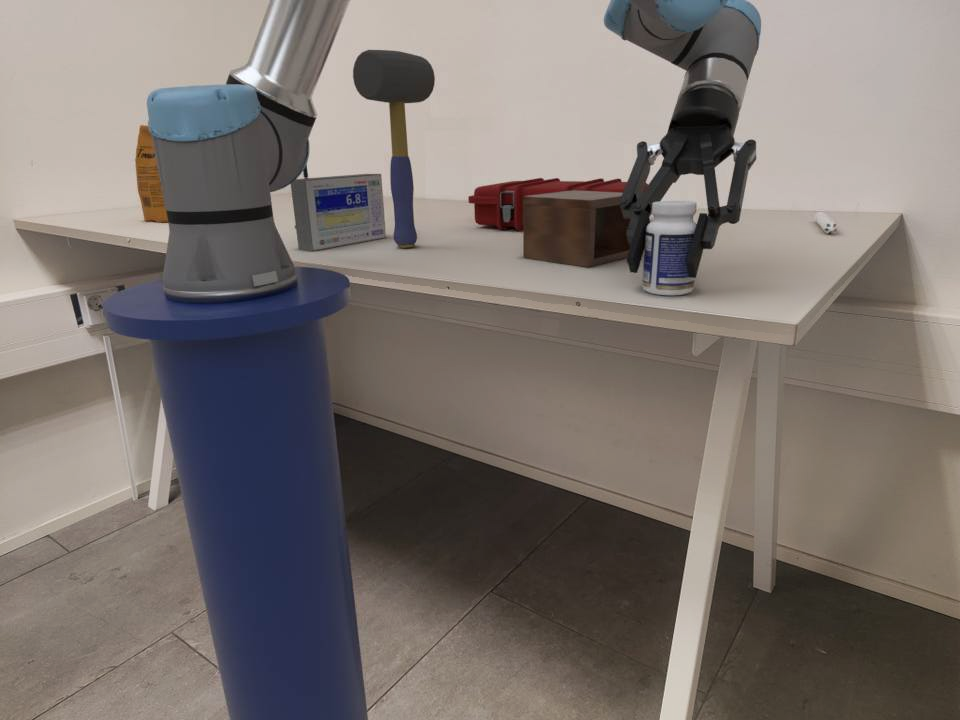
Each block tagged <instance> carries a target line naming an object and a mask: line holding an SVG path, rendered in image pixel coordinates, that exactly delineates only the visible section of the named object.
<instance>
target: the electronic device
mask: <svg viewBox="0 0 960 720" xmlns="http://www.w3.org/2000/svg"><path fill="white" fill-rule="evenodd" d="M302 174H303V178H297V179H296V180H295V181H293V182H292V183H291V184H290V191H291V199H292V208H293V215H294V229H295V231H296V240H297V247H298V250H300V251H308V252H317V251H322V250H327V249H332V248H338V247H343V246H348V245H354V244H359V243H365V242H370V241H375V240H382V239H386V238H387V233H386V220H385V207H384V206H385V205H384V192H383V191H384V190H383V179H382V173H359V174H358V173H357V174H347V175H346V174H344V175H334V176H332V175H331V176H319V177H309V172H308V163H307V164H306V167H305V169H304V170H303V172H302Z"/></svg>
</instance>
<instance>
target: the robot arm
mask: <svg viewBox="0 0 960 720" xmlns="http://www.w3.org/2000/svg"><path fill="white" fill-rule="evenodd" d="M350 2H351V0H269V3H268V4H267V8H266V11H265V13H264V16H263V18H262V21H261V24H260V27H259V29H258V33H257V35H256V37H255V41H254V44H253V47H252V49H251V52H250V55H249V57H248V61H247V62H246V63H245V65H243V66H240V67H237V68H234V69H231V70H230V71H229V74H228V77H227V79H226V83H225V84H202V85H188V86H187V85H186V86H172V87H163V88H157V89H155V90H152V91H151V92H150V93H149V94H148V95H147V98H146V108H147V116H148V120H147V126H148V129H149V131H150V133H151V137H152V142H153V147H154V152H155V157H156V163H157V168H158V173H159V178H160V183H161V188H162V193H163V198H164V203H165V208H166V213H167V218H168V222H167V224H168V228H169V229H168V239H167V247H166V254H165V260H164V266H163V272H162V279H163V289H164V294H165V297H166V298H167V299H168V300H171V301H174V302H179V303H188V304H218V303H231V302H240V301H248V300H254V299H260V298H265V297H269V296H273V295H277V294H280V293H283V292H286V291H289V290H291V289H293V288H294V287H295V286H296V285H297V276H296V271H295V267H296V266H295V265H294V262H293V260H292V257H291V256H290V254H289V252H288V249H287V248H286V245H285V243H284V241H283V239H282V237H281V235H280V232H279V231H278V228H277V226H276V223H275V218H274V212H273V203H272V195H271V193H274V192H277V191H280V190H282V189H285V188H287V187H288V186H289V185H291V183H292V182H293V181H295V180H296V179H299V177H300V176H301V175H302V174H303V170H304V169H305V167H306V164H307V165H308V161H309V158H310V149H311V148H310V147H311V146H310V140H309V138H310V135H311V133H312V130H313V127H314V125H315V123H316V120H317V118H318V112H317V109H316V107H315V104H314V102H313V95H314V93H315V90H316V88H317V85H318V82H319V80H320V78H321V75H322V72H323V70H324V67H325V65H326V62H327V60H328V57H329V55H330V52H331V50H332V47H333V44H334V42H335V40H336V37H337V35H338V33H339V30H340V27H341V24H342V22H343V20H344V18H345V15H346V13H347V10H348V7H349V5H350ZM603 16H604V17H603V24H604V26H605V28H606V29H607V30H609V31H611V32H612V33H614V34H615V35H617V36H618V37H620V38H621V40H622V41H625V42H626V41H627V42H629V43H632V44H633V45H635V46H637V47H639V48H641V49H643V50H645V51H647V52H649V53H651V54H653V55H654V56H657V57H659V58H661V59H663V60H664V61H667V62H669V63H670V64H672V65H674V66H675V67H678V68H680V69H681V70H683V71H685V73H684V76H683V81H682V84H681V87H680V90H679V92H678V95H677V99H676V102H675V103H676V104H675V106H674V108H673V112H672V114H671V118H670V121H669V125H668V128H667V132H666V134H664V136H663V137H662V138H661V139H660V141H659V142H657V143H653V144H649V145H648V143H647V141H643V140H642V141H639V142H638V143H637V144H636V154H637V155H636V158H635V161H634V164H633V166H632V169H631V171H630V174H629V176H628V179H627V181H626V182H627V184H626V186H625V189H624V191H623V194H622V196H621V199H620V201H619V204H620V208H621V211H622V215H623V218H624V219H631V220H630V223H629V226H628V229H627V232H626V234H627V239H628V242H629V244H631V245H630V248H629V251H628V254H627V258H625V259H626V262H627V265H628V269H629V272H630V273H634V274H638V272H639V268H640V265H641V262H642V259H643V256H644V248H645V233H646V227H647V225H648V224H649V223H650V222H651V218H650V217H651V216H652V215H653V214H652V204H653V203H654V202H660V201H662V200H663V199H664V197H665V195H667V193H668V191H669V189H670V188H671V186H672V185H673V184H675V183H677V181H678V180H679V178H680V177H681V176H686V175H690V174H691V175H696V176H703V180H704V187H705V189H704V190H705V197H706V206H707V213H705V212H704V213H703V212H699V214H698V218H697V222H696V224H697V225H696V229H695V232H694V236H693V240H692V243H691V247H690V250H689V254H688V258H687V261H686V265H687V271H688V277H691V278H695V279H696V278H697V274H698V272H699V268H700V265H701V264H700V263H701V261H702V256H703V252H704V250H712V249H714V247H715V244H716V240H717V237H718V233H719V229H720V226H722V225H724V224H727V223H728V224H731V225H735V224H738V223H739V222H740V219H741V215H742V209H743V208H742V207H743V203H744V198H745V190H746V186H747V182H748V181H747V180H748V177H749V176H748V175H749V171H750V170H751V168H752V167H753V165H754V163H755V162H756V161H757V141H756V140H755V139H748V140H746V141H745V142H744V143H743V142H737V141H736V139H735V131H736V128H737V124H738V121H739V117H740V113H741V108H742V105H743V102H744V98H745V95H746V91H747V87H748V82H749V78H750V74H751V71H752V68H753V65H754V62H755V61H754V60H755V59H756V56H757V53H758V51H759V48H760V38H761V32H762V17H761V15H760V11H758V9H757V7H756V6H755V5H754V4H753V3H751V2H750V1H748V0H610V1H609V4H608V6H607V8H606V10H605V13H604V15H603ZM660 155H661V156H662V158H663V159H662V161H661V166H660V167H659V169H658V170H657V172H656V173H655V174H654V176H653V177H652V179H651V180H650V182H648V186H647V187H646V189H645V190H644V192H643V193H642V191H643V188H644V186H645V183H647V181H648V178H649V175H650V172H651V166H653V165H655V162H656V160H657V158H658V157H659V156H660ZM732 155H733V156H732ZM730 156H732V157H733V162H734V164H733V166H734V167H733V171H732V177H731V182H730V185H729V192H728V197H727V202H726V205H721V206H720V199H719V198H720V197H719V189H718V183H717V177H716V167H718V166H719V165H720V164H722V163H723V162H724V161H725V160H727V158H729V157H730ZM641 193H642V195H641Z"/></svg>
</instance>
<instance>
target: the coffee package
mask: <svg viewBox="0 0 960 720" xmlns="http://www.w3.org/2000/svg"><path fill="white" fill-rule="evenodd" d="M134 161H135V174H136V175H135V176H136V186H137V187H136V188H137V193H138V196H139V201H140V204H141V210H142V215H143V220H144V222H156V223H168V218H167V213H166V208H165V203H164V198H163V193H162V188H161V183H160V178H159V173H158V168H157V163H156V157H155V152H154V147H153V142H152V137H151V133H150V131H149V129H148V125H144V124H141V125H139V130H138V135H137V144H136V149H135V159H134Z"/></svg>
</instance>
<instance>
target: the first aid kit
mask: <svg viewBox="0 0 960 720" xmlns="http://www.w3.org/2000/svg"><path fill="white" fill-rule="evenodd" d="M626 184H627V181H622V179H621V178H614V179H609V180H605V179H604V178H596V179H595V178H594V179H591V180H586V181H582V180H581V181H580V180H579V181H577V180H576V181H575V180H573V181H572V180H570V181H569V180H561V179H560V178H559V177H555V178H554V177H553V178H549V179H544V178H543V177H538V178H532V179H526V180H512V181H506V182H498V183H493V184H488V185H487V184H486V185H481V186H477V187H476V188H475V189H474V191H473V195H470V196H467V197H468V201H467V202H468V204H472V205H473V208H474V222H475V223H476V224H477V225H479V226H487V227H488V226H491V227H497V229H498V230H499V231H505V230H507V229H511V228H514V230H515V231H516V232H517V231H518V232H521V231H523V205H524V204H523V197H524V196H530V195H538V194H547V193H555V192H564V191H572V190H577V191H598V192H619V193H623V191H624V189H625V186H626ZM648 185H649V183H647V182H646V183H645V186H644V188H643V191H642V193H643V192H644V190H645V189H646V187H647V186H648ZM642 193H641V195H642Z"/></svg>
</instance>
